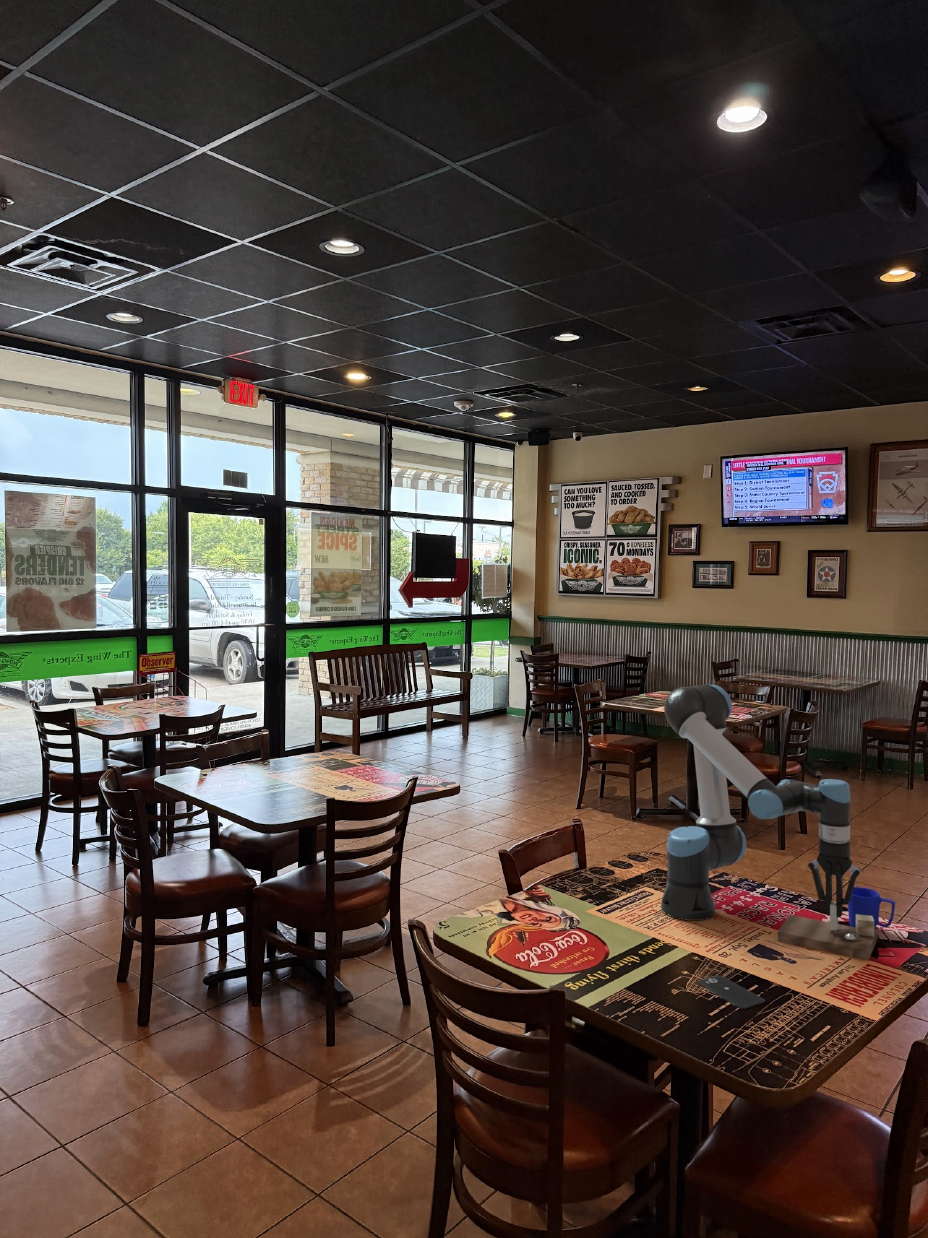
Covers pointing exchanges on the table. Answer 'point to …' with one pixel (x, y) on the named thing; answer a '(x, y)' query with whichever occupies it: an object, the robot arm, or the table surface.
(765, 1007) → the table surface
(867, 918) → the maple cube
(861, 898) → the mug
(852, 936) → the ball
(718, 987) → the smartphone
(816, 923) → the deck
